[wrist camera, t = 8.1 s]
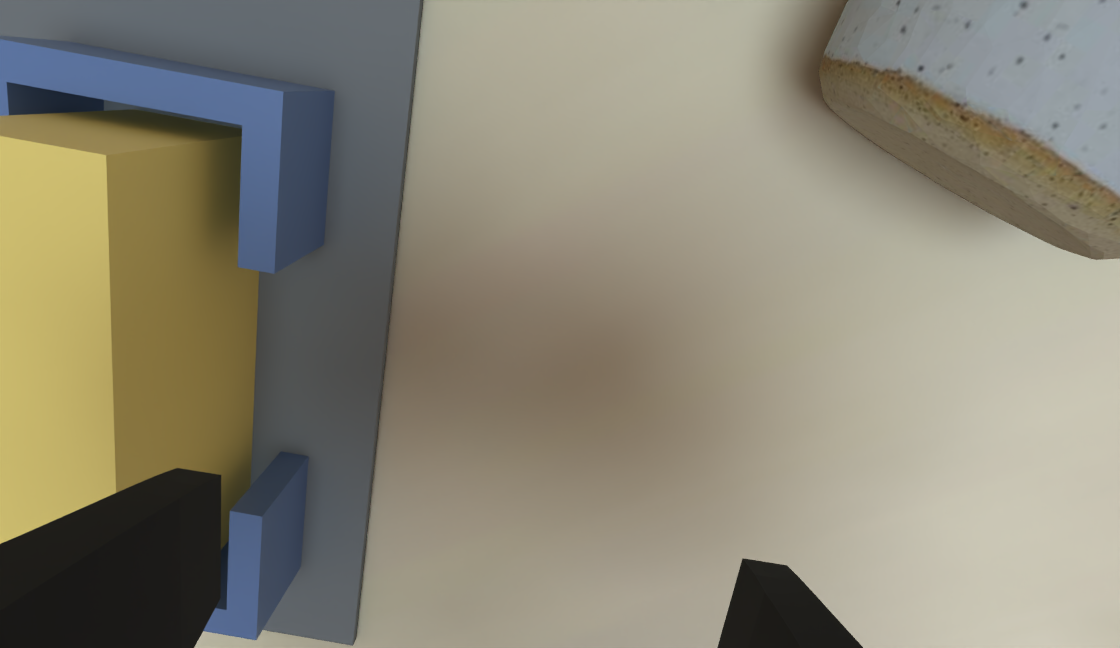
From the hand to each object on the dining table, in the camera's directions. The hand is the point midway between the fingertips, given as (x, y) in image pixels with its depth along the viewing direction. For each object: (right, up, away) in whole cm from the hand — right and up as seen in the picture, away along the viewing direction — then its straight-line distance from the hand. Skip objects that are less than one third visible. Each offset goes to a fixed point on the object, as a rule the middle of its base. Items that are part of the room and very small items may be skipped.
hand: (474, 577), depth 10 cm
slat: (-9, +3, +9) cm, 13 cm away
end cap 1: (-8, +8, +8) cm, 13 cm away
